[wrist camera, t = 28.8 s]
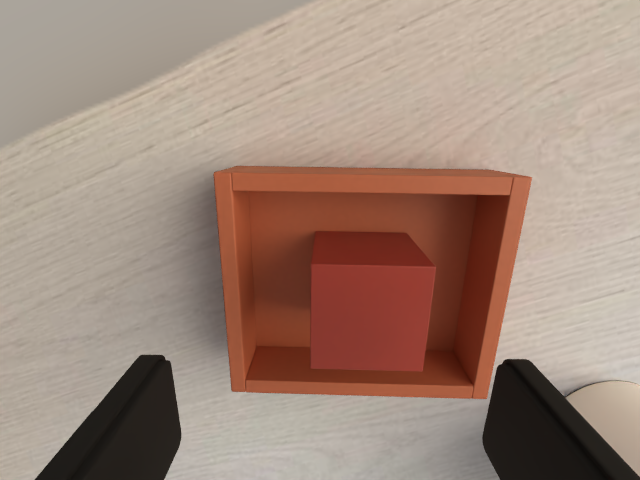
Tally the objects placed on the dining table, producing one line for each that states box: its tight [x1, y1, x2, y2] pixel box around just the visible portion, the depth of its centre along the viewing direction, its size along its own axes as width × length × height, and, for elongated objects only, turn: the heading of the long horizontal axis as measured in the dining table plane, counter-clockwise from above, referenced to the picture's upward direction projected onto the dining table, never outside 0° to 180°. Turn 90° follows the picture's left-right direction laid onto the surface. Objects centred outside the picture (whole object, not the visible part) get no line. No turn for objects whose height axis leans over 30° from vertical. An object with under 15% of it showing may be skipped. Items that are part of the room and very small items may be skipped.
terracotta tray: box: [214, 166, 532, 399], centre depth 17 cm, size 14×12×4 cm
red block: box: [310, 231, 436, 372], centre depth 16 cm, size 5×5×5 cm
